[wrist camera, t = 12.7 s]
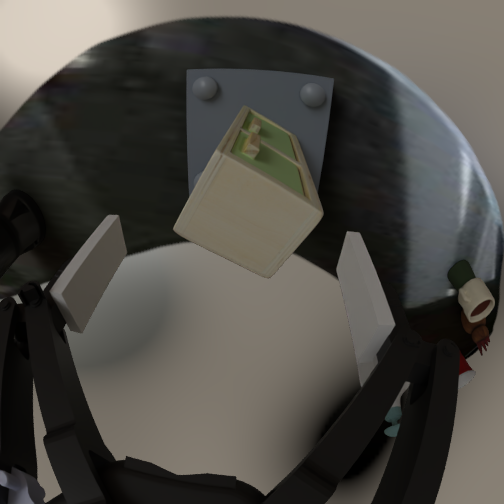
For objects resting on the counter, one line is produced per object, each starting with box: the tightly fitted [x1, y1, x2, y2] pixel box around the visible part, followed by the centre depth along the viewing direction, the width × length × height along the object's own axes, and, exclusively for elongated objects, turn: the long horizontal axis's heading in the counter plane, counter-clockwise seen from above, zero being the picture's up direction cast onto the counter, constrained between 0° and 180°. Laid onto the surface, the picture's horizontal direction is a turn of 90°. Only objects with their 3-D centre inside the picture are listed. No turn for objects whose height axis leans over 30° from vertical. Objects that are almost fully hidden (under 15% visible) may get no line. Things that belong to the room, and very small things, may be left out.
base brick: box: [187, 69, 334, 196], centre depth 37 cm, size 18×18×7 cm
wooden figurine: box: [461, 309, 490, 355], centre depth 54 cm, size 7×6×15 cm
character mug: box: [448, 260, 495, 323], centre depth 47 cm, size 11×7×13 cm, turn 73°
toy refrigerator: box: [173, 105, 324, 278], centre depth 26 cm, size 8×7×21 cm
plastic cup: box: [458, 351, 476, 389], centre depth 67 cm, size 11×11×12 cm
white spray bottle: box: [357, 356, 410, 437], centre depth 55 cm, size 11×8×27 cm
